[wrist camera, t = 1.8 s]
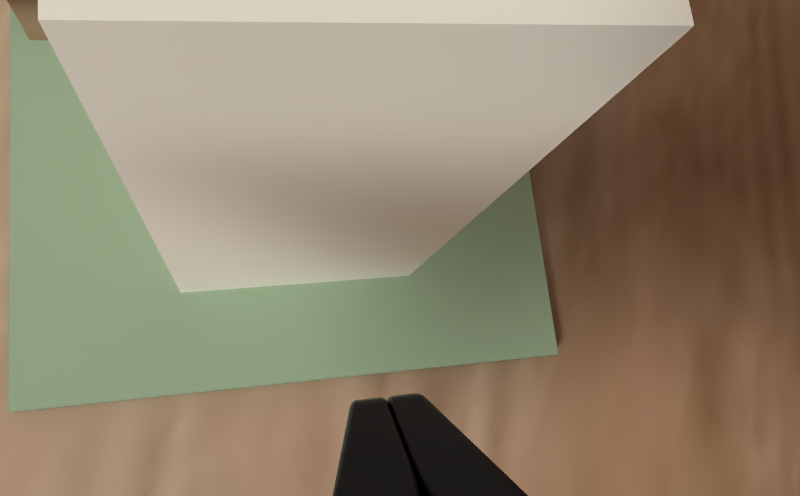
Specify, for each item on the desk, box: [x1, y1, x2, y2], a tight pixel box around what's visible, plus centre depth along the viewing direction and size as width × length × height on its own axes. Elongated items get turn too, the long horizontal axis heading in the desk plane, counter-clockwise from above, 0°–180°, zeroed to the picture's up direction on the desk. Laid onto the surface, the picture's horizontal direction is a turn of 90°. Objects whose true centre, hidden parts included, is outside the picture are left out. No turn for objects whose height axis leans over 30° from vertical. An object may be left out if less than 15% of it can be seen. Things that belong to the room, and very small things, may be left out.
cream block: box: [38, 0, 694, 293], centre depth 13 cm, size 8×6×13 cm
